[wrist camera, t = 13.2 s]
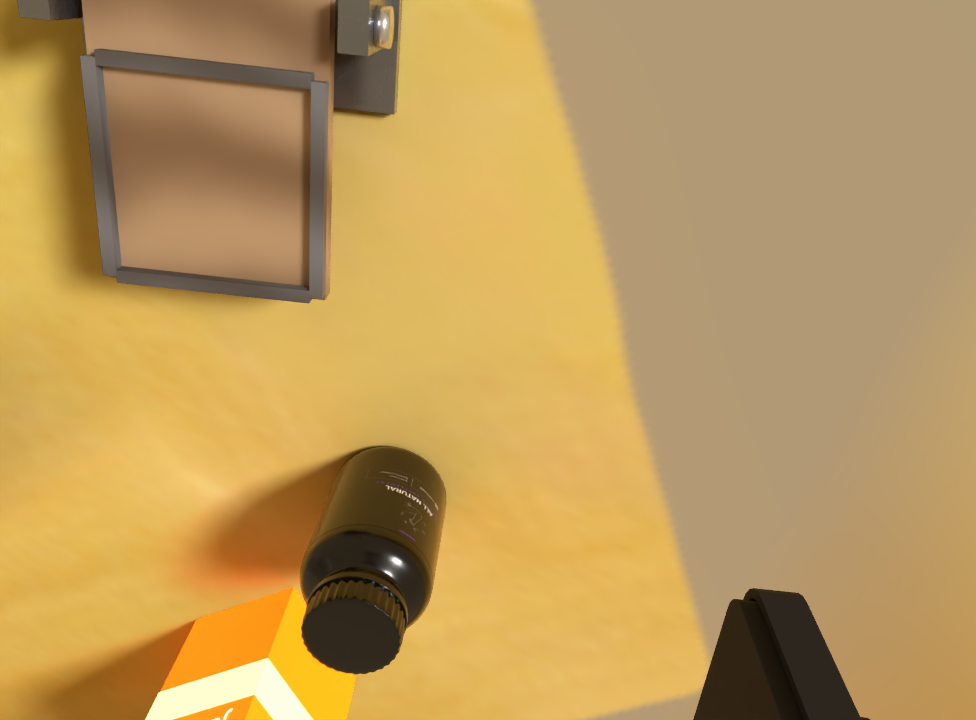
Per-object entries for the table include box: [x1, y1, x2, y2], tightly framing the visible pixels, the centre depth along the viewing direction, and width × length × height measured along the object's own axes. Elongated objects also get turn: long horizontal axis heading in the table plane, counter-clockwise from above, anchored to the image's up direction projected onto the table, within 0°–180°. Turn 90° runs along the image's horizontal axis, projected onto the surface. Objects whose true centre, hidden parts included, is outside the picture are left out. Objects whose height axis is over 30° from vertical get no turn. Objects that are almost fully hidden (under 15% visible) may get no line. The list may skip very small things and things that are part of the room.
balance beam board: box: [80, 0, 336, 303], centre depth 32 cm, size 24×10×2 cm, turn 174°
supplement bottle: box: [300, 447, 446, 674], centre depth 42 cm, size 7×7×12 cm
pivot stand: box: [17, 0, 402, 114], centre depth 33 cm, size 8×15×6 cm, turn 84°
